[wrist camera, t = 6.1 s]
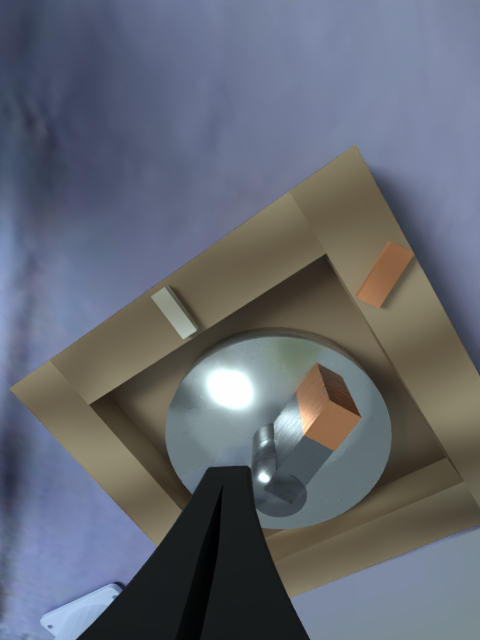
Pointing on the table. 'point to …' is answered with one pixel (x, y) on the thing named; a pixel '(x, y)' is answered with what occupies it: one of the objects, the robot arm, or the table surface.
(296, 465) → the dial
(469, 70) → the table surface
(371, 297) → the board
